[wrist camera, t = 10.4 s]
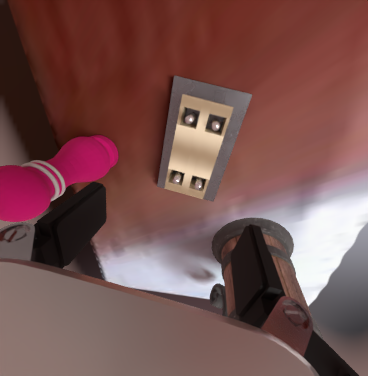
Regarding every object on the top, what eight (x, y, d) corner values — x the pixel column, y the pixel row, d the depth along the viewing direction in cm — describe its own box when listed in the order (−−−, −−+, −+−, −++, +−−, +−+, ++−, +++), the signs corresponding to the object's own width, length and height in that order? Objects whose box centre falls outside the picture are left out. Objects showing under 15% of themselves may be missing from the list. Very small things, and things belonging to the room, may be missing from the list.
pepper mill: (127, 164, 32) (25, 244, 15) (97, 173, 34) (-24, 252, 17) (109, 126, 29) (-46, 168, 12) (77, 138, 31) (-96, 190, 14)
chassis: (175, 76, 24) (166, 71, 19) (250, 94, 24) (260, 93, 19) (158, 184, 33) (149, 198, 28) (213, 198, 33) (213, 216, 28)
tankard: (242, 203, 32) (274, 328, 15) (313, 242, 34) (418, 396, 16) (185, 268, 44) (166, 381, 26) (241, 295, 45) (257, 419, 28)
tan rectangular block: (186, 94, 24) (182, 94, 21) (231, 106, 24) (233, 107, 21) (169, 179, 31) (164, 188, 28) (204, 189, 31) (202, 199, 28)
